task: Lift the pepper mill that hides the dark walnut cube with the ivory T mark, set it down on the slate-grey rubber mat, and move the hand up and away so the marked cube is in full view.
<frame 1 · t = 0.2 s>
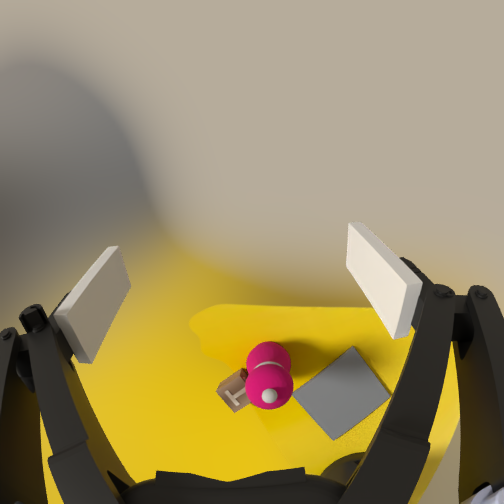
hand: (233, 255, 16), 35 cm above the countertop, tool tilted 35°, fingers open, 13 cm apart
pepper mill: (268, 357, 49), on the countertop
marked cube: (239, 385, 48), on the countertop
grey mat: (343, 395, 47), on the countertop
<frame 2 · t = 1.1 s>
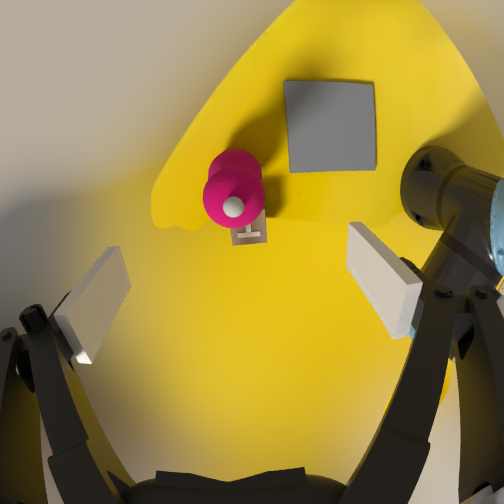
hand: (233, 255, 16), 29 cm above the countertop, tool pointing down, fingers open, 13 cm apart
pepper mill: (235, 170, 42), on the countertop
marked cube: (247, 216, 45), on the countertop
grey mat: (332, 125, 39), on the countertop
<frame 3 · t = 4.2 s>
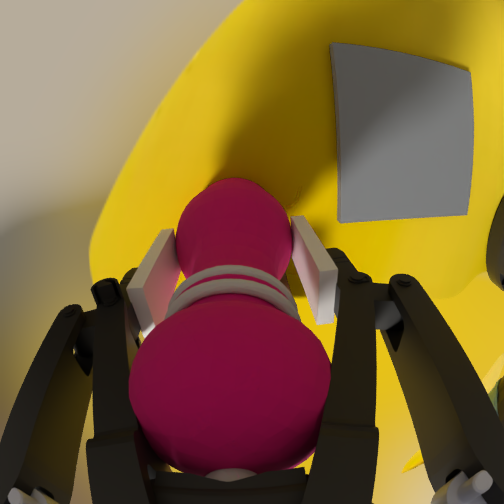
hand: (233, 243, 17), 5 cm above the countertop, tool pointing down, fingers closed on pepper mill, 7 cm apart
pepper mill: (234, 216, 22), on the countertop, touching gripper
grey mat: (413, 135, 19), on the countertop
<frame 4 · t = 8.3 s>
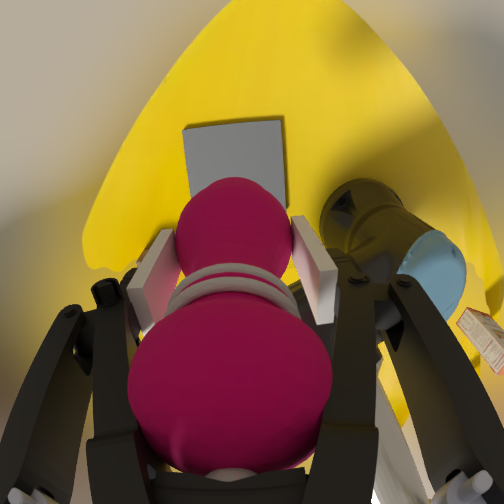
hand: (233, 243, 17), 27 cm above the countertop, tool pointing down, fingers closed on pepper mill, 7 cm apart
cracker box: (472, 317, 59), on the countertop
pepper mill: (234, 215, 22), point 21 cm above the countertop, touching gripper
grey mat: (235, 170, 41), on the countertop
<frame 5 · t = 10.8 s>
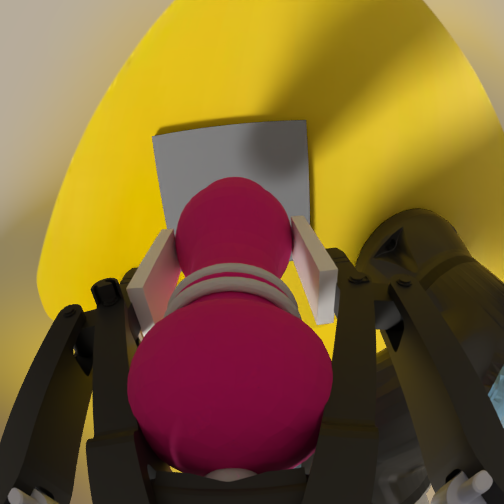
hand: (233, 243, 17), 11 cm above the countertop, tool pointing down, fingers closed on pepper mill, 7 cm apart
pepper mill: (234, 215, 22), point 6 cm above the countertop, touching gripper
grey mat: (235, 197, 27), on the countertop
when the fingers open (7 cm above the countertop, at t = 12.6 s): pepper mill drops 1 cm, resting on grey mat.
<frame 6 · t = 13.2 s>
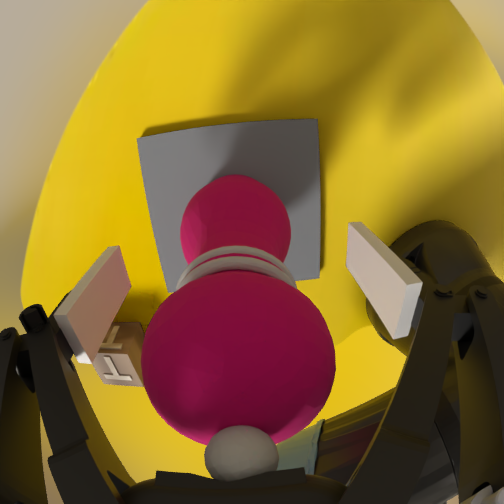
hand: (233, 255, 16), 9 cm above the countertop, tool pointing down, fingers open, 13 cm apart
pepper mill: (235, 211, 23), point 1 cm above the countertop, touching grey mat
marked cube: (126, 338, 29), on the countertop
grey mat: (234, 208, 24), on the countertop
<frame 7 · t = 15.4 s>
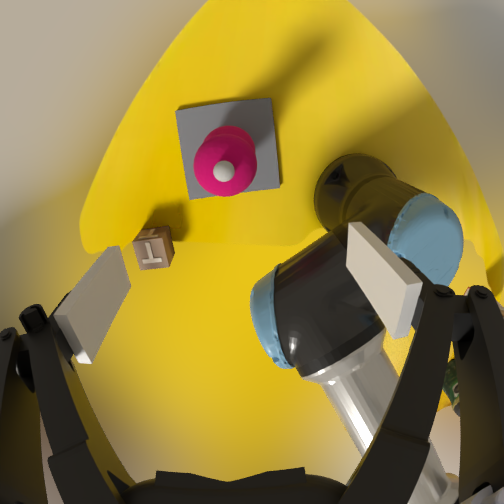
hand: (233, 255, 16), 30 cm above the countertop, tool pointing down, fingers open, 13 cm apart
coffee jar: (445, 368, 72), on the countertop
pepper mill: (228, 148, 40), point 1 cm above the countertop, touching grey mat
marked cube: (158, 241, 47), on the countertop
grey mat: (228, 148, 41), on the countertop
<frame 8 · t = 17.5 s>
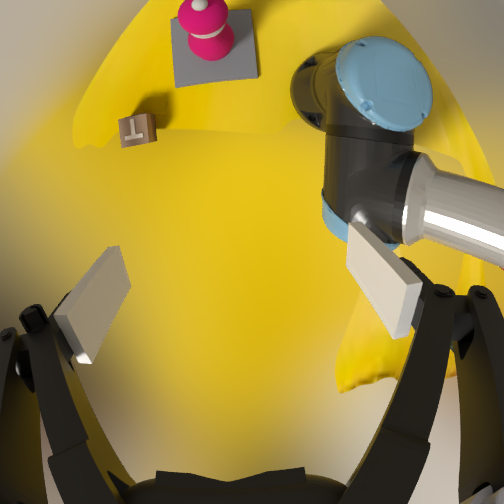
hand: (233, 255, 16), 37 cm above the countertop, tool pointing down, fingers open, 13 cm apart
pepper mill: (213, 45, 39), point 1 cm above the countertop, touching grey mat
marked cube: (142, 129, 45), on the countertop
grey mat: (213, 46, 39), on the countertop
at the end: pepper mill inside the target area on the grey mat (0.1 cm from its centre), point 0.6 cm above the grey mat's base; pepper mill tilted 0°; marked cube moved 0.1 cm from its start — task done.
